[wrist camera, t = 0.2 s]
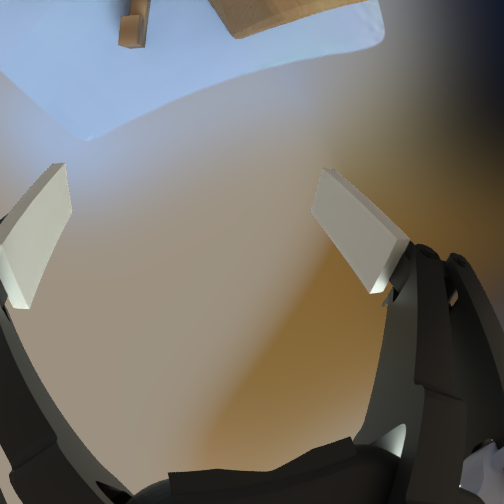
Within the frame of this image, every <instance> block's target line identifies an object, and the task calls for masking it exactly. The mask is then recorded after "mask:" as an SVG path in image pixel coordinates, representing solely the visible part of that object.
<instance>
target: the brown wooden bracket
mask: <svg viewBox="0 0 504 504" xmlns="http://www.w3.org/2000/svg"><path fill="white" fill-rule="evenodd" d="M150 2H151V0H131V6H130V12H129V16H121V23H120V31H119V41H118V45H120V46H123V47H127V48H130V49H132V48H145V41H146V32H147V24H148V16H149V9H150Z"/></svg>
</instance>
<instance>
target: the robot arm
mask: <svg viewBox="0 0 504 504" xmlns="http://www.w3.org/2000/svg"><path fill="white" fill-rule="evenodd" d="M71 214H72V208H71V201H70V195H69V188H68V180H67V172H66V163H57V164H52V165H51V166H50V167H49V168H48V169H47V170H46V171H45V172H44V173H43V174H42V175H41V176H40V177H39V178H38V180H37V181H36V182H35V183H34V184H33V185H32V186H31V187H30V188H29V190H28V191H27V192H26V193H25V194H24V195H23V197H22V198H21V199H20V200H19V201H18V202H17V204H16V205H15V206H14V207H13V209H12V210H11V211H10V212H9V213H8V214H7V215H6V216H4V217H3V218H2V219H1V220H0V445H1V447H2V449H3V450H4V452H5V454H6V456H7V458H8V460H9V462H10V464H11V466H12V471H11V472H10V474H9V478H10V482H11V484H12V486H13V488H14V490H15V492H16V494H17V495H18V497H19V498H20V500H21V501H22V503H23V504H504V332H503V330H502V327H501V325H500V323H499V320H498V318H497V316H496V314H495V312H494V309H493V307H492V305H491V304H490V301H489V299H488V297H487V295H486V293H485V291H484V289H483V287H482V285H481V283H480V281H479V280H478V278H477V276H476V274H475V272H474V270H473V269H472V267H471V265H470V264H469V262H468V261H467V260H466V259H465V258H464V257H463V256H462V255H458V254H456V253H451V254H450V255H449V257H448V259H447V261H442V260H440V257H439V255H438V254H437V253H436V252H435V251H434V250H433V249H432V248H430V247H428V246H426V245H423V244H416V245H414V244H413V243H412V242H411V241H410V239H409V238H408V237H407V236H406V235H405V233H404V232H403V231H402V230H401V229H400V228H399V227H398V226H396V224H395V223H393V222H392V221H391V220H390V219H389V218H388V217H387V216H386V215H385V214H384V213H383V212H382V211H381V210H380V209H379V208H378V207H377V206H376V205H374V204H373V203H372V202H371V201H370V200H369V199H368V198H367V197H366V196H365V195H363V194H362V193H361V192H360V191H359V190H358V189H357V188H356V187H354V186H353V185H352V184H351V183H350V182H349V181H348V180H346V179H345V178H344V177H343V176H342V175H340V174H339V173H338V172H337V171H336V170H334V169H327V168H322V171H321V175H320V179H319V183H318V186H317V190H316V193H315V197H314V200H313V204H312V207H311V214H312V215H313V216H314V217H315V219H316V220H317V221H318V223H319V224H320V225H321V227H322V228H323V229H324V231H325V232H326V233H327V235H328V236H329V237H330V238H331V240H332V241H333V243H334V244H335V245H336V247H337V248H338V249H339V251H340V252H341V254H342V255H343V256H344V258H345V259H346V261H347V262H348V263H349V265H350V266H351V267H352V269H353V270H354V272H355V273H356V274H357V276H358V277H359V279H360V280H361V282H362V283H363V285H364V286H365V288H366V289H367V290H368V292H369V293H370V294H371V293H378V292H383V290H384V289H385V287H386V285H387V283H388V282H389V281H390V282H391V284H392V285H393V287H392V289H391V291H390V293H389V294H388V296H387V298H386V299H385V301H384V303H383V304H382V306H383V307H384V306H385V304H387V303H388V307H387V316H386V323H385V329H384V335H383V342H382V347H381V352H380V358H379V363H378V368H377V372H376V377H375V382H374V386H373V390H372V394H371V398H370V402H369V406H368V410H367V413H366V417H365V421H364V424H363V426H362V428H361V430H360V431H359V432H358V434H357V435H356V436H355V438H354V440H353V442H352V439H351V437H347V438H344V439H342V440H339V441H336V442H333V443H331V444H327V445H324V446H321V447H317V448H314V449H312V450H310V451H308V452H306V453H305V454H303V455H301V456H299V457H298V458H296V459H294V460H292V461H290V462H289V463H287V464H285V465H283V466H281V467H279V468H277V469H275V470H273V471H268V472H257V471H256V472H255V471H237V470H224V469H211V470H202V471H190V472H172V473H171V472H170V473H168V475H169V479H166V480H162V481H159V482H157V483H154V484H152V485H150V486H148V487H146V488H145V489H142V490H141V491H140V492H138V493H137V494H136V495H133V494H132V493H131V492H130V491H129V490H128V489H127V488H126V487H125V486H124V485H123V484H122V483H121V482H120V481H118V479H117V478H116V477H114V476H113V475H112V474H111V473H110V472H109V471H108V470H107V469H105V468H104V467H103V466H102V465H101V464H100V463H99V462H98V461H97V459H96V458H95V457H94V456H93V455H92V454H91V452H90V451H89V450H88V449H87V447H86V446H85V445H84V444H83V442H82V441H81V440H80V439H79V437H78V436H77V435H76V433H75V432H74V431H73V429H72V428H71V427H70V425H69V424H68V422H67V421H66V419H65V418H64V417H63V415H62V414H61V412H60V411H59V409H58V408H57V406H56V405H55V403H54V401H53V400H52V398H51V397H50V395H49V393H48V392H47V390H46V388H45V387H44V385H43V384H42V382H41V380H40V378H39V376H38V375H37V373H36V371H35V369H34V367H33V365H32V363H31V361H30V359H29V357H28V355H27V353H26V352H25V350H24V347H23V345H22V343H21V341H20V339H19V336H18V334H17V332H16V330H15V327H14V325H13V323H12V320H11V318H10V315H9V313H8V310H7V309H6V307H5V305H4V304H5V302H6V299H7V297H8V298H9V300H10V302H11V304H12V305H13V307H14V308H20V309H30V306H31V303H32V300H33V297H34V295H35V292H36V290H37V287H38V284H39V282H40V279H41V277H42V275H43V272H44V270H45V267H46V265H47V263H48V261H49V258H50V256H51V254H52V252H53V250H54V247H55V245H56V243H57V241H58V239H59V237H60V235H61V233H62V231H63V229H64V227H65V225H66V223H67V221H68V219H69V218H70V216H71ZM457 292H458V299H457V301H456V302H455V304H454V305H453V306H451V304H450V302H451V300H452V299H453V297H454V296H455V294H456V293H457ZM491 439H492V440H493V441H491ZM0 504H7V503H6V501H5V498H4V496H3V493H2V491H1V489H0Z"/></svg>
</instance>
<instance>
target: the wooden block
mask: <svg viewBox="0 0 504 504" xmlns="http://www.w3.org/2000/svg"><path fill="white" fill-rule="evenodd" d="M363 1H368V0H209V2H210V3H211V5H212V6H213V8H214V9H215V11H216V12H217V14H218V15H219V17H220V18H221V20H222V21H223V23H224V24H225V26H226V28H227V29H228V31H229V32H230V34H231V35H232V36H233V37H234V38H236V39H242V38H245V37H247V36H250V35H253V34H255V33H258V32H261V31H264V30H267V29H270V28H273V27H276V26H279V25H283V24H286V23H289V22H292V21H295V20H298V19H301V18H304V17H307V16H310V15H313V14H316V13H320V12H323V11H327V10H330V9H334V8H337V7H341V6H345V5H349V4H354V3H358V2H363Z"/></svg>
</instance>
